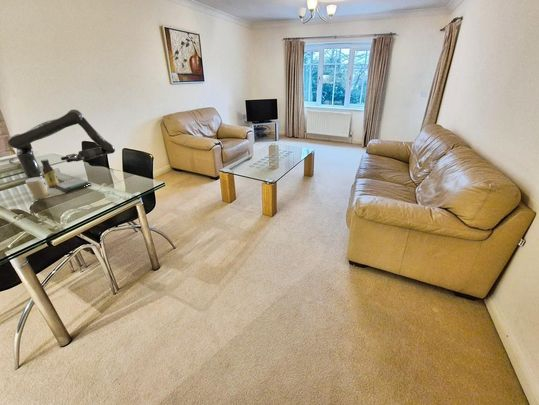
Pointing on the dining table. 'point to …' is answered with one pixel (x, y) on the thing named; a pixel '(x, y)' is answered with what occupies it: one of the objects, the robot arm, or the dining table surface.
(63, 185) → the kitchen scale
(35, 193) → the coffee cup
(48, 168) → the sauce bottle
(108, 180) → the dining table surface
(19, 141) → the robot arm
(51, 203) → the dining table surface
